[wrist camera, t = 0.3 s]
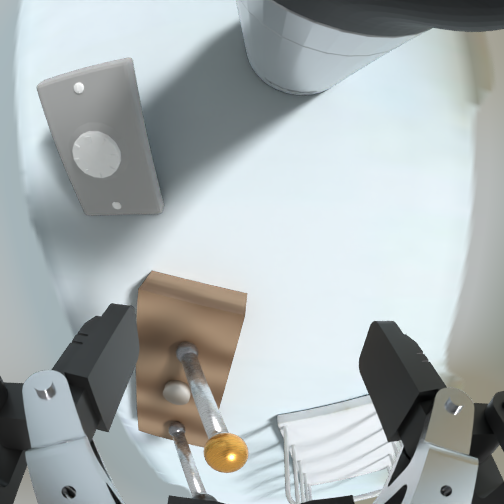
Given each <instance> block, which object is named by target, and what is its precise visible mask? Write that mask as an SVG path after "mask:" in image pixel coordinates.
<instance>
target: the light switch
mask: <svg viewBox="0 0 504 504" xmlns="http://www.w3.org/2000/svg"><path fill="white" fill-rule="evenodd" d="M37 91H38V95H39V98H40V101H41V104H42V107H43V110H44V113H45V116H46V119H47V122H48V125H49V128H50V131H51V134H52V136H53V139H54V142H55V144H56V147H57V150H58V152H59V155H60V157H61V160H62V162H63V165H64V167H65V170H66V172H67V174H68V177H69V179H70V181H71V184H72V186H73V188H74V191H75V193H76V195H77V197H78V199H79V202H80V204H81V206H82V208H83V210H84V212H85V214H86V215H88V216H90V215H127V214H160V213H162V210H163V207H164V202H163V199H162V195H161V191H160V187H159V183H158V179H157V175H156V171H155V167H154V162H153V158H152V154H151V150H150V145H149V141H148V136H147V132H146V127H145V122H144V118H143V113H142V108H141V103H140V97H139V92H138V87H137V81H136V76H135V70H134V64H133V60H132V58H124V59H119V60H114V61H110V62H105V63H101V64H97V65H93V66H89V67H85V68H82V69H78V70H75V71H71V72H68V73H64V74H61V75H58V76H55V77H52V78H49V79H46V80H44V81H42V82H41V83H39V84H38V85H37ZM79 136H80V137H79Z"/></svg>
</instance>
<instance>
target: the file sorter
mask: <svg viewBox="0 0 504 504" xmlns="http://www.w3.org/2000/svg"><path fill="white" fill-rule="evenodd" d="M277 423H278V427H279V429H280V432H281V434H282V436H283V438H284V464H285V491H286V497H287V500H288V501H289V503H290V504H300V503H301V502H300V494H299V482H298V472H299V478H300V489H301V501H302V503H304V502H305V498H306V502H307V501H310V500H312V494H311V486H312V485H318V484H324V483H329V482H334V481H339V480H344V479H348V478H352V477H356V476H360V475H364V474H368V473H372V472H376V471H379V470H382V469H386V468H387V470H388V473H390V471H391V470H390V467H393V464H394V460H393V459H394V453H395V455H396V457H397V455H398V450H397V447H396V441H394V442H389V443H388V441H387V438H386V435H385V433H384V430H383V428H382V425H381V423H380V420H379V418H378V415H377V413H376V410H375V408H374V405H373V403H372V400H371V398H370V395H367V396H364V397H360V398H356V399H352V400H348V401H344V402H340V403H336V404H332V405H328V406H324V407H319V408H314V409H310V410H304V411H299V412H294V413H288V414H282V415H278V416H277ZM399 442H400V444H401V447H402V446H403V443H402V440H399ZM289 452H290V454H291V456H292V459H293V471H294V484H295V496H296V502H295V501H294V500H293V499H292V497H291V493H290V474H289ZM297 470H298V471H297ZM304 486H305V494H304ZM381 491H382V489H381V490H377V491H373V492H370V493H366V494H362V495H358V496H354V497H353V499H354V501H358V500H362V499H366V498H370V497H373V496H377V495H379V494H380V492H381ZM308 492H309V495H308Z"/></svg>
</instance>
